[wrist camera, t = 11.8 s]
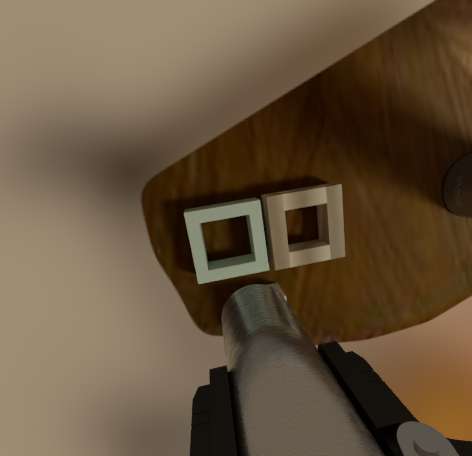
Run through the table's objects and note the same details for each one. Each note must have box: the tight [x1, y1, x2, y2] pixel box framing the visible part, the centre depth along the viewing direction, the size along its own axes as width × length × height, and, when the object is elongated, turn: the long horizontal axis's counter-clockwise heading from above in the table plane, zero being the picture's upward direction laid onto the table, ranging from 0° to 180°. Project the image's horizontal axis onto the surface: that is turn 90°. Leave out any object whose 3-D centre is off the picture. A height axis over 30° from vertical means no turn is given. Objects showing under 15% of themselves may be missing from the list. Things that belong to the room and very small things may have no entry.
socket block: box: [261, 183, 345, 270], centre depth 32 cm, size 9×9×3 cm
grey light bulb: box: [221, 284, 385, 456], centre depth 10 cm, size 4×4×10 cm
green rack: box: [184, 197, 269, 284], centre depth 31 cm, size 9×9×3 cm
